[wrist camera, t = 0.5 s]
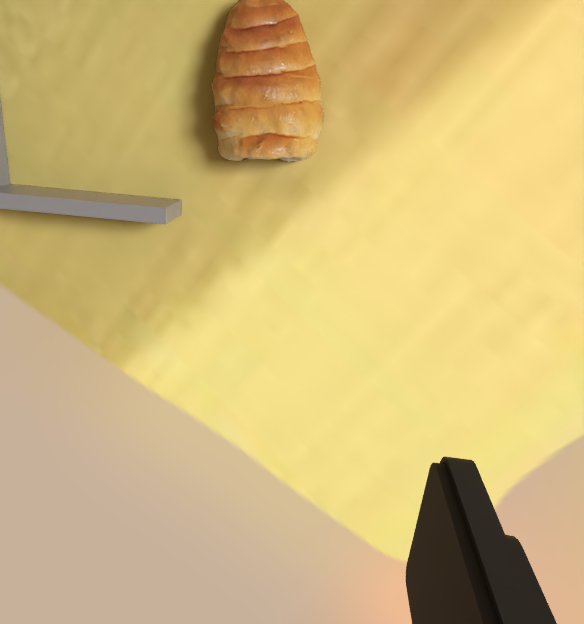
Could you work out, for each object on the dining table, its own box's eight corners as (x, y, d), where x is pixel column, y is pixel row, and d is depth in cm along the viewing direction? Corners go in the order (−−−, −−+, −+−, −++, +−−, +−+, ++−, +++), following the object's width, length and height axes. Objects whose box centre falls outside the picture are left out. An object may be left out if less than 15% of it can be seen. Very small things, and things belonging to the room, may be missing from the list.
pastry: (208, 2, 31) (192, -14, 27) (320, -6, 30) (319, -23, 27) (223, 163, 34) (210, 168, 30) (324, 159, 34) (324, 163, 30)
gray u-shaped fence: (-37, -79, 30) (-82, -103, 27) (182, -64, 29) (163, -86, 26) (-3, 197, 36) (-36, 205, 32) (181, 214, 35) (165, 224, 32)
